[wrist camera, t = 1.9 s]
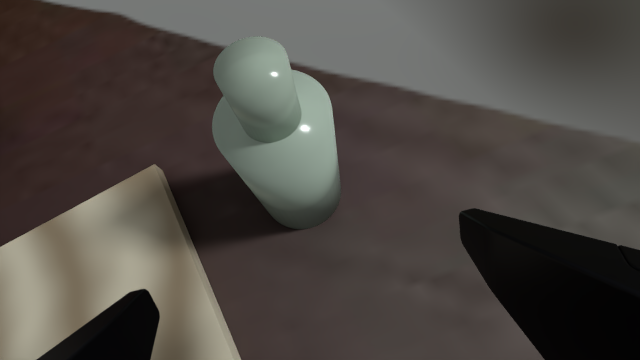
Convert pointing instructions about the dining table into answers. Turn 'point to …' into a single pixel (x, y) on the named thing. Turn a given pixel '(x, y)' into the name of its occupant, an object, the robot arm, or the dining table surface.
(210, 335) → the birch board
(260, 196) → the oil bottle
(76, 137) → the dining table surface
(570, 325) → the robot arm
